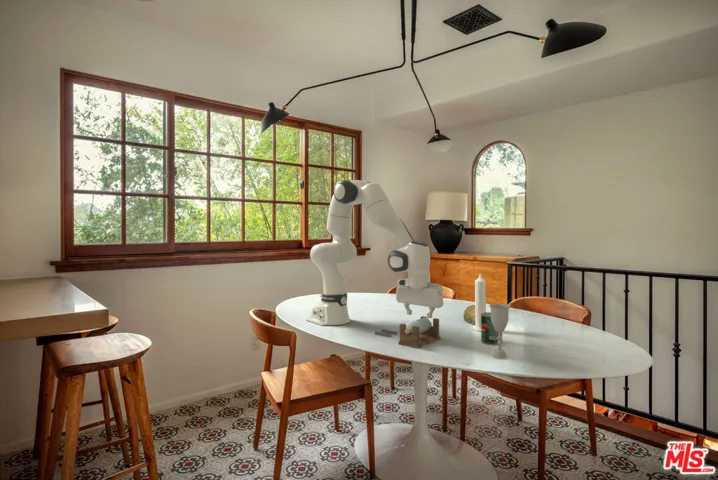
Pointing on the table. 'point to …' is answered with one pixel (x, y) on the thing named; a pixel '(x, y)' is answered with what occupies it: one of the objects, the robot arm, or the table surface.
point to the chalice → (499, 325)
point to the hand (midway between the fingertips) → (419, 316)
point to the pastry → (470, 314)
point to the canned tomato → (488, 330)
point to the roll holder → (419, 335)
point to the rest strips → (386, 332)
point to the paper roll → (422, 323)
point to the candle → (479, 301)
